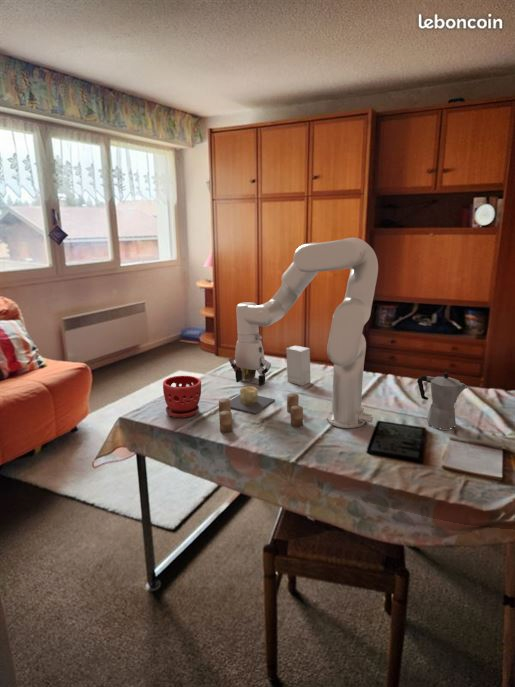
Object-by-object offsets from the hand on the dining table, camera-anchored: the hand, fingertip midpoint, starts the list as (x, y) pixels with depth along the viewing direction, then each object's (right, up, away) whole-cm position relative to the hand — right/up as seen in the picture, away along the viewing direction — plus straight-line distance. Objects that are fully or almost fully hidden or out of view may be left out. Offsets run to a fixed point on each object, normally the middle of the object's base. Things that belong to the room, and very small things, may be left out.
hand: (250, 383), depth 166 cm
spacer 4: (+16, -13, -15) cm, 25 cm away
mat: (-1, -8, +3) cm, 8 cm away
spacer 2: (-8, -14, -18) cm, 24 cm away
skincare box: (+19, -2, +23) cm, 31 cm away
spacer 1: (-9, -11, -8) cm, 16 cm away
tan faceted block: (-1, -7, +2) cm, 8 cm away
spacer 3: (+15, -10, -4) cm, 18 cm away
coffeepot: (+62, -12, -15) cm, 65 cm away
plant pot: (-24, -10, -4) cm, 26 cm away
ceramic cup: (-2, -1, +27) cm, 27 cm away
